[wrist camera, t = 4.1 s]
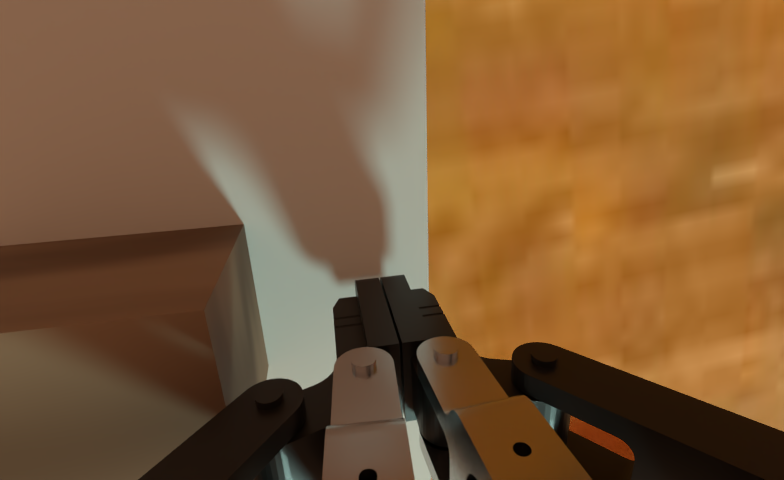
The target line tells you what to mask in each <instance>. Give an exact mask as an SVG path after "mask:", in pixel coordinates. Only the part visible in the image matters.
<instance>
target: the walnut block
mask: <svg viewBox="0 0 784 480" xmlns="http://www.w3.org/2000/svg"><path fill="white" fill-rule="evenodd" d="M268 367H269V365H268V359H267V353H266V347H265V342H264V336H263V330H262V325H261V319H260V313H259V307H258V302H257V296H256V290H255V284H254V279H253V273H252V267H251V262H250V256H249V250H248V244H247V239H246V233H245V227H244V224H240V225H229V226H218V227H207V228H196V229H185V230H173V231H162V232H151V233H140V234H129V235H118V236H107V237H95V238H84V239H73V240H62V241H51V242H40V243H29V244H17V245H6V246H0V480H138V479H139V478H141V477H142V476H143V475H144V474H145V473H147V472H148V471H149V470H150V469H151V468H153V467H154V466H155V465H156V464H158V463H159V462H160V461H161V460H162V459H164V458H165V457H166V456H167V455H168V454H170V453H171V452H172V451H173V450H174V449H176V448H177V447H178V446H179V445H180V444H182V443H183V442H184V441H185V440H187V439H188V438H189V437H190V436H191V435H193V434H194V433H195V432H196V431H197V430H199V429H200V428H201V427H202V426H203V425H205V424H206V423H207V422H208V421H210V420H211V419H212V418H213V417H214V416H216V415H217V414H218V413H219V412H220V411H222V410H223V409H224V408H225V407H226V406H228V405H229V404H230V403H231V402H232V401H234V400H235V399H236V398H237V397H239V396H240V395H241V394H242V393H243V392H245V391H246V390H247V389H248V388H250V387H251V386H253V385H255V384H257V383H259V382H262V381H265V380H266V379H267V373H268Z"/></svg>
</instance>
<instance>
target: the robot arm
mask: <svg viewBox="0 0 784 480" xmlns="http://www.w3.org/2000/svg"><path fill="white" fill-rule="evenodd" d="M355 292H356V296H355V297H346V298H339V299H338V301H337V302H336V304H335V305H334V307H333V318H334V331H335V344H336V356H337V360H336V362H335V364H334V371H333V372H332V373H331V374H330V375H329V376H328V377H327V378H326V379H324V380H323V381H321V382H320V383H318V384H316V385H313V386H311V387H308V388H306V389H302V387H301V386H300V385H299V384H298V383H297V382H295V381H293V380H289V379H284V378H276V379H269V380H265V381H262V382H259V383H257V384H255V385H253V386H251V387H250V388H248V389H247V390H246V391H245V392H243V393H242V394H241V395H240V396H239V397H237V398H236V399H235V400H234V401H232V402H231V403H230V404H229V405H228V406H226V407H225V408H224V409H223V410H222V411H220V412H219V413H218V414H217V415H216V416H214V417H213V418H212V419H211V420H210V421H208V422H207V423H206V424H205V425H203V426H202V427H201V428H200V429H199V430H197V431H196V432H195V433H194V434H193V435H191V436H190V437H189V438H188V439H187V440H185V441H184V442H183V443H182V444H180V445H179V446H178V447H177V448H176V449H174V450H173V451H172V452H171V453H170V454H168V455H167V456H166V457H165V458H164V459H162V460H161V461H160V462H159V463H158V464H156V465H155V466H154V467H153V468H151V469H150V470H149V471H148V472H147V473H145V474H144V475H143V476H142V477H141V478H139V479H138V480H415V478H414V471H413V465H412V459H411V452H410V446H409V440H408V434H407V427H406V422H408V421H414V420H417V423H418V426H419V442H420V448H421V451H422V454H423V456H424V459H425V462H426V464H427V467H428V469H429V472H430V475H431V477H432V480H784V432H783V431H780V430H778V429H775V428H772V427H770V426H767V425H764V424H762V423H759V422H757V421H754V420H751V419H749V418H746V417H743V416H741V415H738V414H735V413H733V412H730V411H727V410H725V409H722V408H719V407H717V406H714V405H712V404H709V403H706V402H704V401H701V400H698V399H696V398H693V397H690V396H688V395H685V394H682V393H680V392H677V391H674V390H672V389H669V388H667V387H664V386H661V385H659V384H656V383H653V382H651V381H648V380H645V379H643V378H640V377H637V376H635V375H632V374H629V373H627V372H624V371H622V370H619V369H616V368H614V367H611V366H608V365H606V364H603V363H600V362H598V361H595V360H592V359H590V358H587V357H584V356H582V355H579V354H577V353H574V352H571V351H569V350H566V349H563V348H561V347H558V346H555V345H552V344H548V343H541V342H532V343H526V344H523V345H521V346H519V347H517V348H516V349H515V350H514V351H513V354H512V360H500V359H489V358H484V357H480V356H479V355H478V354H477V352H476V351H475V349H474V348H473V347H472V346H471V345H470V344H469V343H468V342H466V341H464V340H462V339H459V338H457V337H456V335H455V333H454V332H453V330H452V328H451V326H450V324H449V322H448V320H447V319H446V317H445V315H444V314H443V311H442V309H441V307H439V304H438V302H437V300H436V298H435V296H434V295H433V294H431V293H430V292H428V291H427V290H425V289H424V288H420V289H412V290H411V289H410V287H409V284H408V282H407V280H406V278H405V276H404V275H395V276H387V277H380V280H379V278H370V279H362V280H355ZM403 413H404V416H405V418H403ZM570 415H571V416H573V417H576V418H578V419H580V420H582V421H584V422H586V423H588V424H590V425H592V426H595V427H597V428H599V429H601V430H603V431H605V432H607V433H609V434H612V435H614V436H616V437H618V438H620V439H621V440H623V441H624V442H625V443H626V444H627V445H628V446H629V447H630V448H631V450H632V451H633V453H634V457H635V461H632V460H629V459H626V458H624V457H622V456H620V455H618V454H616V453H614V452H612V451H610V450H608V449H606V448H604V447H602V446H600V445H598V444H596V443H594V442H592V441H590V440H588V439H586V438H584V437H582V436H580V435H578V434H576V433H574V432H572V431H570V430H569V423H570ZM405 420H406V422H405Z"/></svg>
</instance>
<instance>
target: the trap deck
mask: <svg viewBox="0 0 784 480" xmlns="http://www.w3.org/2000/svg"><path fill="white" fill-rule="evenodd" d="M240 224H244V227H245V233H246V239H247V244H248V250H249V256H250V262H251V267H252V273H253V279H254V284H255V290H256V296H257V302H258V307H259V313H260V319H261V325H262V330H263V336H264V342H265V347H266V353H267V359H268V365H269V367H268V373H267V379H266V380H269V379H276V378H284V379H289V380H293V381H295V382H297V383H298V384H299V385H300V386H301V387H302V389H306V388H308V387H311V386H313V385H316V384H318V383H320V382H321V381H323V380H324V379H326V378H327V377H328V376H329V375H330V374H331V373H332V372H333V371H334V364H335V362H336V360H337V356H336V344H335V331H334V318H333V307H334V305H335V304H336V302H337V301H338V299H339V298H346V297H355V296H356V292H355V280H362V279H370V278H379V280H380V277H387V276H395V275H404V276H405V278H406V280H407V282H408V284H409V287H410V289H411V290H412V289H420V288H424V289H425V290H427V291H428V292H429V282H428V201H427V119H426V38H425V0H0V246H6V245H17V244H29V243H40V242H51V241H62V240H73V239H84V238H95V237H107V236H118V235H129V234H140V233H151V232H162V231H173V230H185V229H196V228H207V227H218V226H229V225H240ZM403 418H405V416H404V413H403ZM405 422H406V420H405ZM406 427H407V434H408V440H409V446H410V452H411V459H412V465H413V471H414V478H415V480H431V475H430V472H429V469H428V467H427V464H426V462H425V459H424V456H423V454H422V451H421V448H420V442H419V426H418V423H417V420H414V421H408V422H406Z"/></svg>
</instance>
